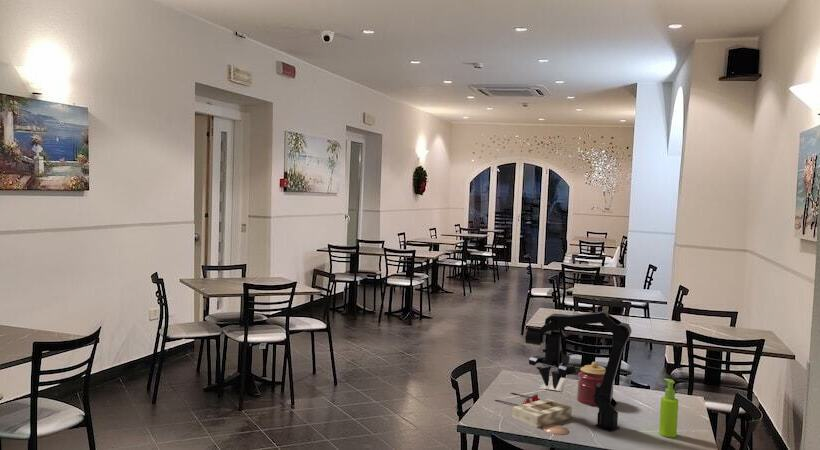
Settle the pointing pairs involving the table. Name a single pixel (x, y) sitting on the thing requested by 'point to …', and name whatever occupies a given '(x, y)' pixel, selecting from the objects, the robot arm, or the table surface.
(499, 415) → the table surface
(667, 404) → the soap dispenser
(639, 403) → the table surface
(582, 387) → the canister
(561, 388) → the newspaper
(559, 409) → the cream wooden tray
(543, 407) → the walnut slab
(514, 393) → the glasses
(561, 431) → the terracotta coaster
